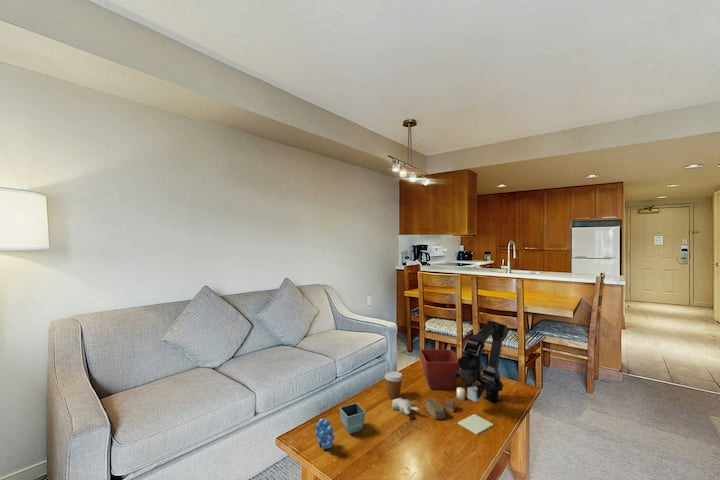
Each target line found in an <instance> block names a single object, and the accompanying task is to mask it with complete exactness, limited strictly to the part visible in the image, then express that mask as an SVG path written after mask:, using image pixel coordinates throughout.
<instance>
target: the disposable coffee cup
mask: <svg viewBox="0 0 720 480" xmlns="http://www.w3.org/2000/svg"><path fill="white" fill-rule="evenodd" d="M403 377H404V376H403V374H402V373H401V372H399V371H397V370H389V371H386V372H385V375H384V379H385V385H386V387H385V388H386V395H387V398H388V399H389V400H391V401H392V400H394V399H398V398H401V397H400V395H401V387H402V381H403V379H404V378H403Z"/></svg>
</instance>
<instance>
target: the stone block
mask: <svg viewBox="0 0 720 480" xmlns="http://www.w3.org/2000/svg"><path fill="white" fill-rule="evenodd" d="M423 408H424V409H425V410H426V412H427V413H428V414H429V415H430V416H431V417H432V418H433V419H434V420H443V419H445V418H446V410H445V406H443V405H442V404H441V403H440V402H439V401H438V400H436V399H435V398H428V399H424V404H423Z"/></svg>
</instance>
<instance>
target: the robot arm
mask: <svg viewBox="0 0 720 480" xmlns="http://www.w3.org/2000/svg"><path fill="white" fill-rule="evenodd" d="M509 332H510V331H509V327H508V326H507V324H503V323H499V322H498V321H495V320H487V321H486V323H485V325H484V326H482V327H481V329H480V330H479V331H478V332H477V333H476V334H472V335H470V336H469V337H468V338H467V339H466V341H465V343H464V347H463V349H462V353H463V354H462V355H461V357H459V358H458V359H459V360H458V365H459V367H460V369H459V370H457V371H456V373H455V376H456V377H457V379H458V378H459V379H460V381H461V383H464V385H465V386H466V389H467V390H466V391H468V387H471V386H473V384H475V383H478V385H475V386H476V387H477V388H478V394H477V396H478V399H479V398H480V397H481V398H482V395H483V393H484V390H485V396H483V399H484V400H487V401H489V402H490V403H492V404H496V403H498V402H501V401H502V398H500V397H499V396H500V392H502V391H503V388H504V384H503V383H502V381H501V374H500V371H499V366H500V365H499V364H500V359H501V358H500V357H501V352H502V346H503V341H505V340H506V339H507V336H508V334H509ZM490 336H491V338H492V339H491V340H492V341H491V346H490V347H491V348H490V352H489V353H490V354H489V357H488V365H487V367H486V368H485V369H483V366H482V354H484V352H483V350H484V349H485V346H486V344H485V343H486V342H487V340H488V339H489V338H490Z"/></svg>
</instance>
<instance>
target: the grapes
mask: <svg viewBox="0 0 720 480" xmlns="http://www.w3.org/2000/svg"><path fill="white" fill-rule="evenodd" d="M330 423H331V422H330V420H328V419H325V418H323V417H322V418H320V419H319V421H318V422H317V423H316V424H315V429H316V431H315V433H314V434H315V435H314V436H315V437H316V438H317V444H318V445H321V448H322V449H324V450H327V449H331V448H332V447H333V442H334V441H335V437H336V436H335V434H334V426H332V425H330Z"/></svg>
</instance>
